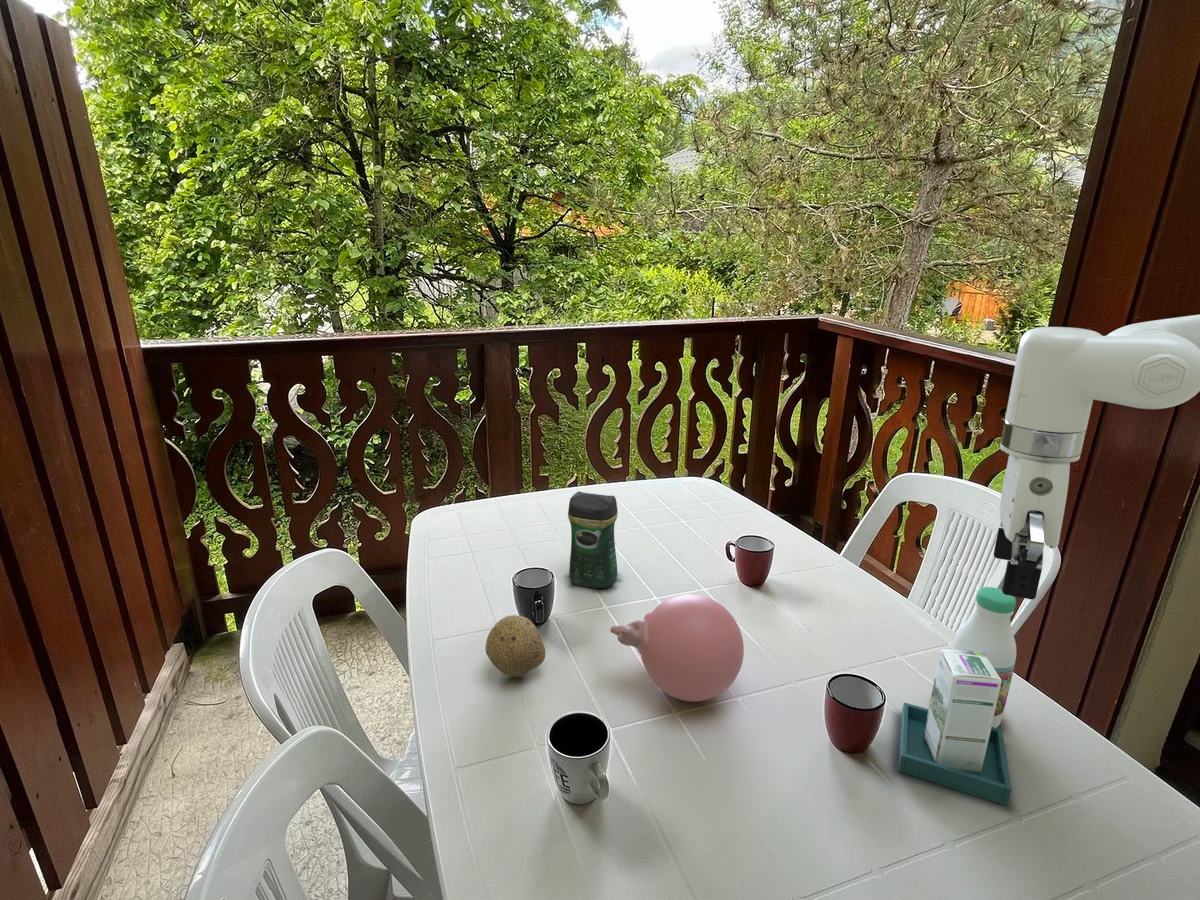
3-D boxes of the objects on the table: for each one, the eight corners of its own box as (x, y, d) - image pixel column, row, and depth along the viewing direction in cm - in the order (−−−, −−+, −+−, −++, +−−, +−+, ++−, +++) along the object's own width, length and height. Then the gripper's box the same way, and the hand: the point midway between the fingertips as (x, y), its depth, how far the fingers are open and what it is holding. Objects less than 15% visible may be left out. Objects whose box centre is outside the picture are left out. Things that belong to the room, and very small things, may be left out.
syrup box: (982, 774, 82) (1006, 680, 77) (934, 767, 83) (954, 674, 78) (966, 741, 87) (987, 651, 83) (920, 736, 88) (938, 646, 84)
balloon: (618, 649, 107) (620, 568, 103) (739, 664, 104) (746, 581, 99) (600, 711, 93) (601, 621, 88) (740, 732, 89) (748, 638, 85)
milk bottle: (928, 702, 96) (952, 584, 89) (968, 692, 98) (994, 576, 92) (970, 738, 89) (999, 613, 82) (1013, 726, 91) (1044, 604, 85)
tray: (998, 744, 87) (1001, 729, 87) (1007, 806, 78) (1011, 789, 77) (901, 716, 93) (903, 702, 92) (898, 771, 83) (901, 755, 82)
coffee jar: (621, 574, 132) (622, 490, 126) (609, 593, 125) (610, 505, 119) (577, 566, 135) (577, 484, 129) (563, 584, 128) (562, 499, 122)
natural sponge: (479, 664, 103) (476, 610, 100) (530, 649, 107) (528, 597, 104) (497, 698, 96) (494, 641, 93) (551, 680, 100) (550, 625, 97)
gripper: (1101, 467, 62) (1064, 620, 67) (1066, 424, 77) (1038, 552, 82) (1011, 458, 65) (982, 604, 70) (994, 418, 80) (971, 542, 85)
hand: (1012, 576), depth 76 cm, fingers open, 9 cm apart
